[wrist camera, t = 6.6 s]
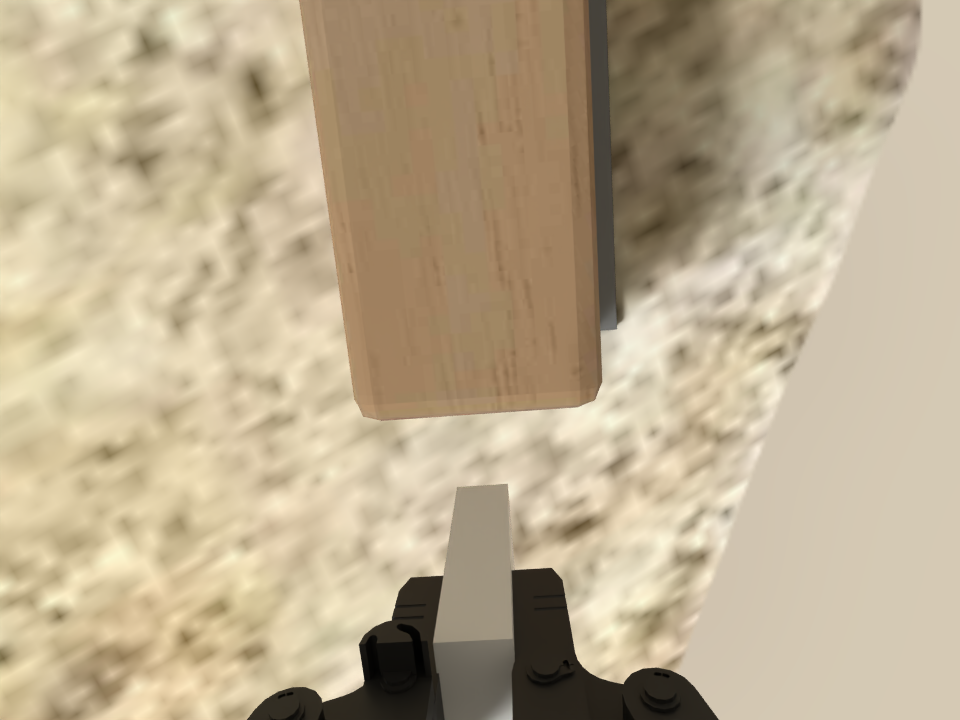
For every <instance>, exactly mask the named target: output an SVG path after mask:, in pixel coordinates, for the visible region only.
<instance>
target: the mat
mask: <svg viewBox="0 0 960 720" xmlns="http://www.w3.org/2000/svg"><path fill="white" fill-rule="evenodd" d="M588 3H589V31H590V58H591V86H592V114H593V142H594V170H595V198H596V225H597V253H598V281H599V309H600V331H601V330H614V329H617V318H616V288H615V258H614V228H613V197H612V167H611V137H610V107H609V77H608V46H607V16H606V0H588Z"/></svg>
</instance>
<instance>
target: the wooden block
mask: <svg viewBox="0 0 960 720" xmlns="http://www.w3.org/2000/svg"><path fill="white" fill-rule="evenodd" d="M299 2H300V9H301V16H302V24H303V31H304V38H305V45H306V53H307V60H308V67H309V74H310V81H311V89H312V96H313V103H314V110H315V118H316V125H317V132H318V139H319V146H320V154H321V161H322V168H323V175H324V183H325V190H326V197H327V204H328V211H329V219H330V226H331V233H332V240H333V248H334V255H335V262H336V269H337V276H338V284H339V291H340V298H341V305H342V313H343V320H344V327H345V334H346V342H347V349H348V356H349V363H350V370H351V378H352V385H353V392H354V399H355V401H356V403H357V404H358V406H359V408H360V410H361V412H362V415H363V416H364V417H368V418H372V419H377V420H381V421H384V420H398V419H413V418H427V417H442V416H456V415H471V414H485V413H500V412H515V411H529V410H544V409H558V408H573V407H579V406H581V405H584V404H586V403H589V402H591V401H594V400H595V399H596V396H597V393H598V391H599V388H600V386H601V383H602V365H601V337H600V309H599V281H598V253H597V225H596V198H595V170H594V142H593V114H592V86H591V58H590V31H589V3H588V0H299Z"/></svg>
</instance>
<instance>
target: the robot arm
mask: <svg viewBox="0 0 960 720" xmlns="http://www.w3.org/2000/svg"><path fill="white" fill-rule="evenodd" d="M359 648H360V654H361V661H362V667H363V673H364V680H365V681H364V685H363V686H362V687H361V688H359V689H357V690H356V691H354V692H352V693H350V694H347V695H345V696H342V697H339V698H336V699H332V700H329V701H326V702H323V703H322V699H321V697H320V696H319V695H318V694H317V692H316V691H314V690H311V689H309V688H306V687H292V688H289V689H286V690H282V691H279V692H277V693H275V694H274V695H272V696H270V697H269V698H267V699H265V700H264V701H263V702H262V703H261V704H260V705H259V706H258V707H257V708H256V709H255V710H254V711H253V713H252V714H251V715H250V717H249V718H248V719H247V720H718V718H717V717H716V715H715V714H714V713H713V711H712V710H711V709H710V707H709V706H708V705H707V703H706V702H705V701H704V699H703V698H702V697H701V695H700V694H699V692H698V691H697V690H696V689H695V687H694V686H693V685H692V684H691V683H690V682H689V681H688V680H687V679H685V678H684V677H683V676H681V675H679V674H677V673H675V672H673V671H671V670H666V669H661V668H646V669H641V670H639V671H637V672H634V673H632V674H631V675H630V676H629V677H628V678H627V679H626V681H625V682H624V684H619V683H614V682H610V681H607V680H603V679H600V678H598V677H596V676H594V675H592V674H590V673H589V672H588V671H587V670H586V669H584V668H583V667H582V665H581V664H580V663H579V661H578V660H577V657H576V654H575V650H574V644H573V638H572V632H571V627H570V621H569V615H568V610H567V604H566V598H565V592H564V587H563V581H562V579H561V578H560V577H559V576H558V575H557V573H556V572H555V571H554V570H553V569H552V568H543V569H526V570H515V569H514V555H513V543H512V531H511V519H510V506H509V494H508V484H500V485H485V486H469V487H457V492H456V499H455V505H454V511H453V518H452V524H451V531H450V537H449V543H448V550H447V556H446V563H445V569H444V575H443V576H431V577H414V578H410V579H409V580H408V581H407V583H406V584H405V585H404V586H403V587H402V588H401V589H400V591H399V593H398V597H397V601H396V604H395V608H394V612H393V616H392V621H387V622H384V623H382V624H380V625H378V626H375V627H374V628H372V629H371V630H370V631H369V632H368V633H366V634H365V635H364V637H363V638H362V640H361V642H360V643H359Z"/></svg>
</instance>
